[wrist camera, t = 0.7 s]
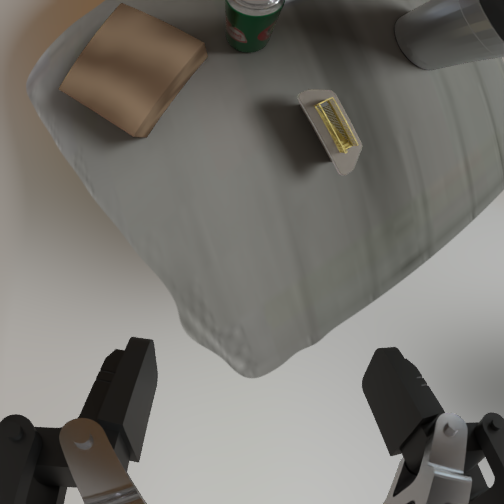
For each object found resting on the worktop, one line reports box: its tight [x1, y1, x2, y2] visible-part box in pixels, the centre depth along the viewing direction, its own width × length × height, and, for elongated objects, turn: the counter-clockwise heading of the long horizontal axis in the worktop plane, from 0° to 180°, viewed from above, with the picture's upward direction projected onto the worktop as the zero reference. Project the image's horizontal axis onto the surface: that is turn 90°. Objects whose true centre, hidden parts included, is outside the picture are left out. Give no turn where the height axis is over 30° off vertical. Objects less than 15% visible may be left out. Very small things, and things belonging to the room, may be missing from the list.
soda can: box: [225, 0, 285, 52], centre depth 21 cm, size 5×5×12 cm
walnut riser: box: [59, 3, 208, 137], centre depth 25 cm, size 12×12×5 cm
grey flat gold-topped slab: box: [297, 89, 362, 176], centre depth 29 cm, size 12×18×7 cm, turn 31°
